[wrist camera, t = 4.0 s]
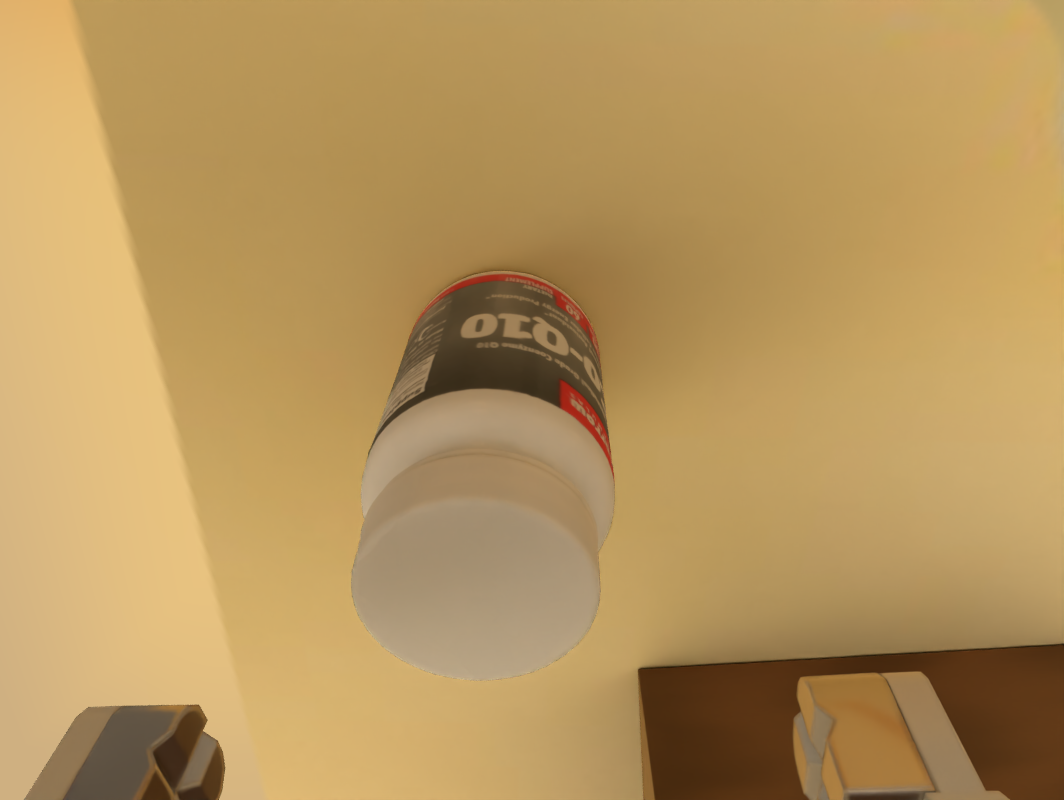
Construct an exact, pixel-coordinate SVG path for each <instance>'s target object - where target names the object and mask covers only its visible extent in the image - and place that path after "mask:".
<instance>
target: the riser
mask: <svg viewBox="0 0 1064 800" xmlns="http://www.w3.org/2000/svg"><path fill="white" fill-rule="evenodd" d="M897 672H922V673H923V674H924V675H925V676H926V677H927V678H928V679H929V681H930V683H931V685H932V687H933V689H934V691H935V693H936V695H937V697H938V699H939V700H940V702H941V704H942V706H943V708H944V710H945V712H946V714H947V716H948V718H949V720H950V722H951V724H952V726H953V728H954V730H955V732H956V734H957V736H958V737H959V739H960V741H961V743H962V745H963V747H964V749H965V751H966V753H967V755H968V757H969V759H970V761H971V763H972V765H973V767H974V769H975V771H976V773H977V774H978V776H979V778H980V780H981V782H982V784H983V786H984V788H985V790H986V791H1000V792H1001V793H1002V794H1003V795H1005V796H1006V797H1007V798H1008V799H1010V800H1064V645H1058V646H1040V647H1023V648H1005V649H988V650H970V651H952V652H935V653H917V654H900V655H882V656H865V657H847V658H830V659H812V660H794V661H777V662H759V663H742V664H724V665H707V666H689V667H671V668H654V669H639V670H638V685H639V707H640V730H641V753H642V776H643V799H644V800H810V799H809V798H808V797H807V796H806V795H805V794H804V793H803V791H802V787H801V783H800V780H799V776H798V772H797V767H796V763H795V758H794V748H793V736H792V734H793V719H794V717H795V716H796V715H798V714H799V713H800V712H801V710H800V706H799V703H798V700H797V697H796V693H797V685H798V681H799V680H800V678H801V677H807V676H824V675H842V674H859V673H878V674H880V673H897Z"/></svg>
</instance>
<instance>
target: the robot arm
mask: <svg viewBox="0 0 1064 800" xmlns="http://www.w3.org/2000/svg"><path fill="white" fill-rule="evenodd" d="M796 697H797V700H798V703H799V706H800V710H801V712H800V713H799V714H798V715H796V716H795V717H794V719H793V734H792V736H793V748H794V758H795V763H796V767H797V772H798V776H799V780H800V783H801V787H802V791H803V793H804V794H805V795H806V796H807V797H808V798H809V799H810V800H1010V799H1008V798H1007V797H1006V796H1005V795H1003V794H1002V793H1001V792H1000V791H986V790H985V788H984V786H983V784H982V782H981V780H980V778H979V776H978V774H977V773H976V771H975V769H974V767H973V765H972V763H971V761H970V759H969V757H968V755H967V753H966V751H965V749H964V747H963V745H962V743H961V741H960V739H959V737H958V736H957V734H956V732H955V730H954V728H953V726H952V724H951V722H950V720H949V718H948V716H947V714H946V712H945V710H944V708H943V706H942V704H941V702H940V700H939V699H938V697H937V695H936V693H935V691H934V689H933V687H932V685H931V683H930V681H929V679H928V678H927V677H926V676H925V675H924V674H923V673H922V672H897V673H880V674H878V673H859V674H842V675H824V676H807V677H801V678H800V680H799V681H798V685H797V693H796ZM206 722H207V718H206V716H205V714H204V713H203V711H202V709H201V707H200V706H199V705H148V706H105V707H88V708H87V709H85V710H84V711H83V712H82V713H80V714H79V715H78V716H77V717H76V718H75V719H74V721H73V723H72V724H71V726H70V728H69V729H68V731H67V732H66V734H65V735H64V737H63V739H62V740H61V742H60V743H59V745H58V747H57V748H56V750H55V751H54V753H53V754H52V756H51V758H50V759H49V761H48V763H47V764H46V766H45V767H44V769H43V770H42V772H41V774H40V775H39V777H38V778H37V780H36V781H35V783H34V785H33V786H32V788H31V789H30V791H29V793H28V794H27V796H26V797H25V799H24V800H219V798H220V795H221V792H222V788H223V781H224V773H225V763H224V756H223V751H222V749H221V747H220V745H219V743H218V741H217V740H216V739H214V738H213V737H211V736H210V735H208V734H206V733H205V732H203V729H204V727H205V725H206Z"/></svg>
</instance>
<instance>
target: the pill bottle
mask: <svg viewBox="0 0 1064 800" xmlns="http://www.w3.org/2000/svg"><path fill="white" fill-rule="evenodd" d="M361 502H362V511H363V517H364V522H363V526H362V530H361V536H360V542H359V546H358V550H357V554H356V557H355V561H354V565H353V569H352V580H351V589H352V597H353V601H354V605H355V608H356V611H357V614H358V616H359V618H360V619H361V621H362V622H363V624H364V626H365V627H366V629H367V631H368V632H369V633H370V634H371V635H372V636H373V638H374V639H375V640H376V641H377V642H378V643H379V644H380V645H381V646H382V647H384V648H385V649H386V650H387V651H389V652H390V653H391V654H393V655H394V656H396V657H397V658H399V659H401V660H402V661H404V662H406V663H408V664H410V665H412V666H414V667H416V668H419V669H421V670H424V671H427V672H429V673H432V674H435V675H440V676H445V677H450V678H455V679H464V680H475V681H485V680H497V679H505V678H511V677H517V676H521V675H525V674H528V673H531V672H534V671H537V670H539V669H541V668H544V667H546V666H548V665H550V664H551V663H553V662H555V661H557V660H558V659H560V658H561V657H563V656H564V655H566V654H567V653H568V652H569V651H571V650H572V649H573V648H574V647H575V646H576V645H577V644H578V643H579V642H580V641H581V640H582V639H583V637H584V636H585V635H586V633H587V632H588V630H589V629H590V627H591V625H592V623H593V621H594V619H595V617H596V614H597V610H598V606H599V600H600V592H601V590H600V569H599V556H598V551H599V550H600V548H601V547H602V545H603V543H604V541H605V539H606V537H607V535H608V532H609V529H610V526H611V523H612V518H613V512H614V502H615V484H614V473H613V465H612V459H611V451H610V443H609V433H608V427H607V419H606V407H605V401H604V392H603V383H602V374H601V364H600V354H599V349H598V343H597V339H596V335H595V332H594V330H593V327H592V325H591V323H590V321H589V319H588V318H587V316H586V315H585V313H584V312H583V310H582V309H581V308H580V307H579V305H578V304H577V303H576V302H575V301H574V300H573V299H572V298H571V297H570V296H569V295H568V294H567V293H565V292H564V291H563V290H561V289H560V288H559V287H557V286H555V285H554V284H552V283H550V282H548V281H546V280H544V279H542V278H539V277H537V276H534V275H531V274H526V273H521V272H513V271H491V272H484V273H479V274H475V275H472V276H469V277H466V278H463V279H461V280H459V281H457V282H455V283H453V284H452V285H450V286H449V287H447V288H446V289H444V290H443V291H442V292H441V293H439V294H438V295H437V296H436V297H435V298H434V299H433V300H431V301H430V303H429V304H428V305H427V306H426V307H425V309H424V310H423V311H422V313H421V314H420V316H419V318H418V319H417V321H416V324H415V326H414V328H413V330H412V333H411V335H410V337H409V340H408V344H407V347H406V349H405V353H404V356H403V358H402V361H401V364H400V367H399V370H398V373H397V376H396V379H395V382H394V384H393V387H392V390H391V393H390V395H389V398H388V401H387V404H386V407H385V409H384V412H383V415H382V418H381V421H380V424H379V426H378V429H377V432H376V435H375V438H374V440H373V443H372V446H371V448H370V450H369V453H368V457H367V461H366V465H365V469H364V473H363V477H362V485H361Z"/></svg>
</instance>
